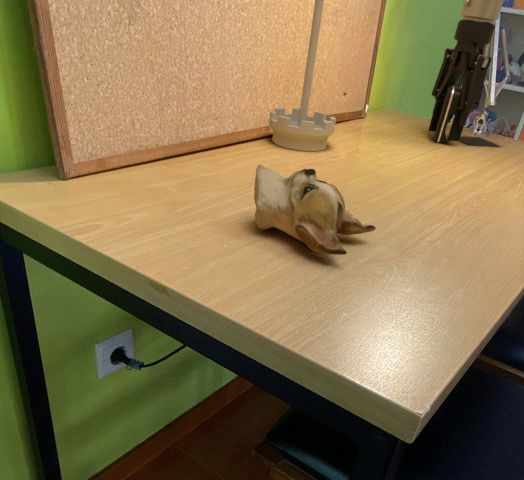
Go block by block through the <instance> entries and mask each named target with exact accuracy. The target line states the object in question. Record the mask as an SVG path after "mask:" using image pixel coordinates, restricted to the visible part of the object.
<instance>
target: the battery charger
mask: <svg viewBox="0 0 524 480" xmlns="http://www.w3.org/2000/svg"><path fill="white" fill-rule="evenodd" d="M461 88H462V87H460V86H455V85H454V86H448V88H447V91H446V94H445V98H444V101H443V105H442V108H441V112H440V115H439V119H438V122H437V126H436V129H435V132H434V133H433V140H434V142H436V143H444V144H447V143H448V142H449V140H447V139H448V136H449V135H447V133H446V131H447V126H448V123H449V122H450V120H452V119H454V116H455V113H456V109H457V107H460V100H461Z"/></svg>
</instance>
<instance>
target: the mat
mask: <svg viewBox="0 0 524 480" xmlns="http://www.w3.org/2000/svg"><path fill="white" fill-rule="evenodd" d="M458 142H461V143H463V144H465V145H467V146H476V147H477V146H478V147H495V148H496V147H497V148H498V147H499V148H500V145H499V144H496V143H494V142H491V141H488V140H486V139H484V138H482V137H479V136H478V137H475V136H461V137H460V140H459V141H458Z"/></svg>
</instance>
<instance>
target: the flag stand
mask: <svg viewBox="0 0 524 480" xmlns="http://www.w3.org/2000/svg"><path fill="white" fill-rule="evenodd" d="M324 2H325V1H324V0H314V6H313V12H312V13H313V14H312V20H311V29H310V35H309V40H308V41H309V42H308V49H307V55H306V65H305V71H304V78H303V86H302V93H301V99H300V107H292V108H291V109H292V111H291V113H286V108H284V107H275V108H273V110H271V109H269V110H270V111H269V118H268V120H269V121H268V125H269V127H270V128H271V129H272V131H273V132H272V138H271V141H272V142H273V143H274V144H275V145H277V146H279V147H282V148H285V149H290V150H295V151H301V152H302V151H303V152H320V151H324V150H325V149H327V144H328V139H329V137H331V136H332V135H333V134H334V133H335V130H336V129H335V127H336V122H337V118H336V117H335V116H328V120H327V115H328V114H327V113H325V112H323V111H318V110H316V111H314V113H313V116H312V115H308V112H309V111H308V110H309V104H310V97H311V92H312V84H313V77H314V70H315V64H316V56H317V49H318V43H319V36H320V29H321V24H322V23H321V22H322V17H323V10H324V4H325V3H324Z"/></svg>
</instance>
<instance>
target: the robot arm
mask: <svg viewBox="0 0 524 480" xmlns="http://www.w3.org/2000/svg"><path fill="white" fill-rule="evenodd" d="M504 1H505V0H464V2H463V5H462V9H461V13H460V16H461V17H462V19H459V21H458V22H457V25H456V29H455V33H454V36H453V39H454V40H455V41H457V42H456V45H454V48H445V50H444V55H443V60H442V62H441V66H440V68H439V71H438V74H437V77H436V79H435V83H434V85H433V88H432V91H431V96H432V97H434V100H435V103H434V106H433V110H432V115H431V118H430V123H429V126H428V129H427V132H429V133H430V132H431V133H433V132H435V129H436V126H437V122H438V119H439V115H440V112H441V108H442V105H443V101H444V98H445V94H446V91H447V88H448V86H455V85H456V83H457V81H458V79H459V78H460V76H461V87H460V88H461V100H460V107H457V109H456V113H455V115H453V118H452V119H453V120H452V123H451V126H450V129H449V132H448V135H447V136H448V139H447V140H448V142H449V141H450V142H460V141H459V140H460V137H462V133H463V130H464V127H465V126H466V124H467V120H468V118H469V114H470V112H471V111H473V110H478V109H479V106H480V103H481V99H482V93H483V90H484V87H485V81H486V78H487V73H488V70H489V67H490V65H491V63H492V60H493V59H492V56H486V55H485V54H484V52H485V47H486V46H487V45H489V44H490V43H491V41H492V38H493V35H494V32H495V28H496V26H495V23H494V22H497V21H498V19H499V17H500V13H501V10H502V7H503V5H504Z"/></svg>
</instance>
